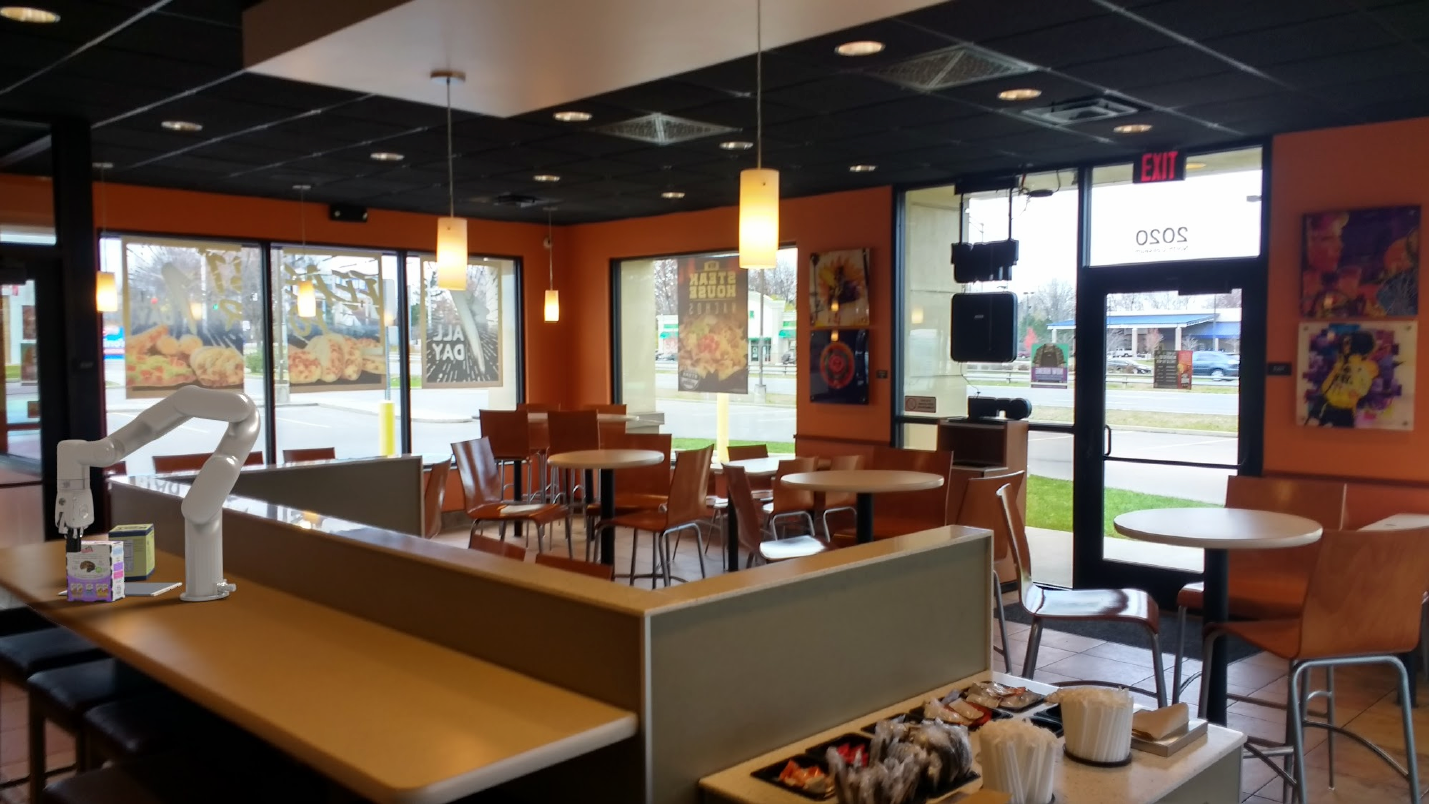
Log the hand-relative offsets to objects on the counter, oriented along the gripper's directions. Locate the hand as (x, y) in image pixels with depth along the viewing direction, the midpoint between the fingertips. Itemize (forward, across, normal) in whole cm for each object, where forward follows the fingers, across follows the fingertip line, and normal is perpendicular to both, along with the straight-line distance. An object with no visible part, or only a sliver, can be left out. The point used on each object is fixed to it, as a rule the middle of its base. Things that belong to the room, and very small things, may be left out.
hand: (73, 551), depth 284 cm
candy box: (+15, +9, -1) cm, 18 cm away
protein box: (+15, +40, +7) cm, 43 cm away
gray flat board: (+15, +21, -1) cm, 26 cm away
